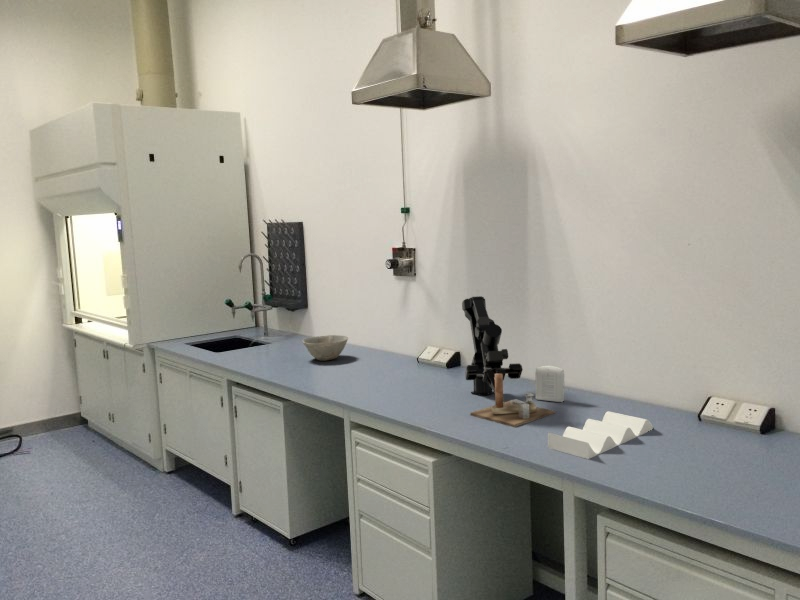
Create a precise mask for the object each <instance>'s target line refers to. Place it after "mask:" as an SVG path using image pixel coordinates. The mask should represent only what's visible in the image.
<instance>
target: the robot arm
mask: <svg viewBox="0 0 800 600" xmlns="http://www.w3.org/2000/svg"><path fill="white" fill-rule="evenodd" d="M461 306H462V307H461V308H462V312H464V316H465V318H466V319H467V320H468V321H469V323H470V331H471V337H472V344H473V349H474V350H473V351H474V354H473V357H472V360H471V364H468V365H466V367H465V374H464V376H465V377H464V378H465V381H473V391H472V390H471V392H470V393H471V394H472V393H473V394H472V395H476V396H481V397H486V396H489V395H492V394H495V374H497V373H501V374H503V381H504V380H505V376H506V375H507V377H508V378H509V379H511V380H514V379H520V378H521V376H522V372H523V371H524V370H523V366H522V364H521V363H520V362H519V363H517V362H516V363H509V366H508V367H502V366H503V364H504V362H503V361H504V360H508V359H509V352H508V349H507V348H505V349H504V348H502V349H500V350H499V345H500V341H501V337H502V331H503V330H502V328H501V326H499V325H498V324H497V323H495V320H493V319H491V318H490V317H489V314H488V311H487V305H486V298H484V296H482V295H480V296H479V295H478V296H471V297H469V298H465V299H463V300H462V302H461Z"/></svg>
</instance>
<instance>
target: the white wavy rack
mask: <svg viewBox="0 0 800 600" xmlns="http://www.w3.org/2000/svg"><path fill="white" fill-rule="evenodd" d="M652 429H653V430H654V429H655V428H654V427H653V424H652V422H651V421H650V420H649V419H645V418H642V417H638V416H632V415H627V414H622V413H618V412H613V411H606V412H605V414H604V415H603V417H602V419H601V420H597V419H593V418H587V419H586V421H585V422H584V426H583V427H582V429H581V428H576V427H574V426H573V427H572V426H567V427H566V428H565V430H564V431H563V433H562V435H559V434H555V433H553V432H547V449H551V450H553V451H558V452H561V453H565V454H569V455H572V456H576V457H579V458H583V459H587V460H590V459H591V458H594V457H596V456H599V455H600V454H602V453H605V452H607V451H609V450H611V449H613V448H616V447H618V446H619V445H622V444H624V443H627V442H629V441H631V440H633V439H636V438H638V437H640V436H643V435H644V434H646V433H648V431H649V432H651V431H653V430H652ZM650 430H651V431H650Z"/></svg>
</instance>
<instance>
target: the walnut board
mask: <svg viewBox="0 0 800 600" xmlns="http://www.w3.org/2000/svg"><path fill="white" fill-rule="evenodd" d="M507 405H514V404H511V403H510V400H508V401H505V402H504V401H503V406H507ZM492 406H495V405H491V406H488V407H485V408H482V409H478V410H476V411H475V410H474V411H472V412H470V413H469V415H470V416H473V417H476V418H479V419H483V420H487V421H491V422H494V423H497V424H498V423H499V424H502V425H505V426H508V427H513V428H516V427H518V426H521V425H522V426H523V425H524V424H528V423H531V422H533V421H536V420H539V419H541V418H545V417H548V416H550V415H554V414H555V410H552V409H547V408H543V407H540V406H539V407H538V406H536V412H535V413H529V418H526V419H522V418H520V417H519V413H508V414H493V413H492Z"/></svg>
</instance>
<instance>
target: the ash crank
mask: <svg viewBox="0 0 800 600" xmlns="http://www.w3.org/2000/svg"><path fill="white" fill-rule="evenodd" d="M494 379H495V393H494V399H495V401H494V402H495V406H494V405H491V406H492V413H493V414H508V413H519V407H518V406H516V405H507V406H503V403H504V380H503V374H501V373H497V374H495V378H494ZM525 403H527V401H526V402H525ZM536 407H537V403H536V402H533V401H532V404H530V405H529V413H535V412H536Z"/></svg>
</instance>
